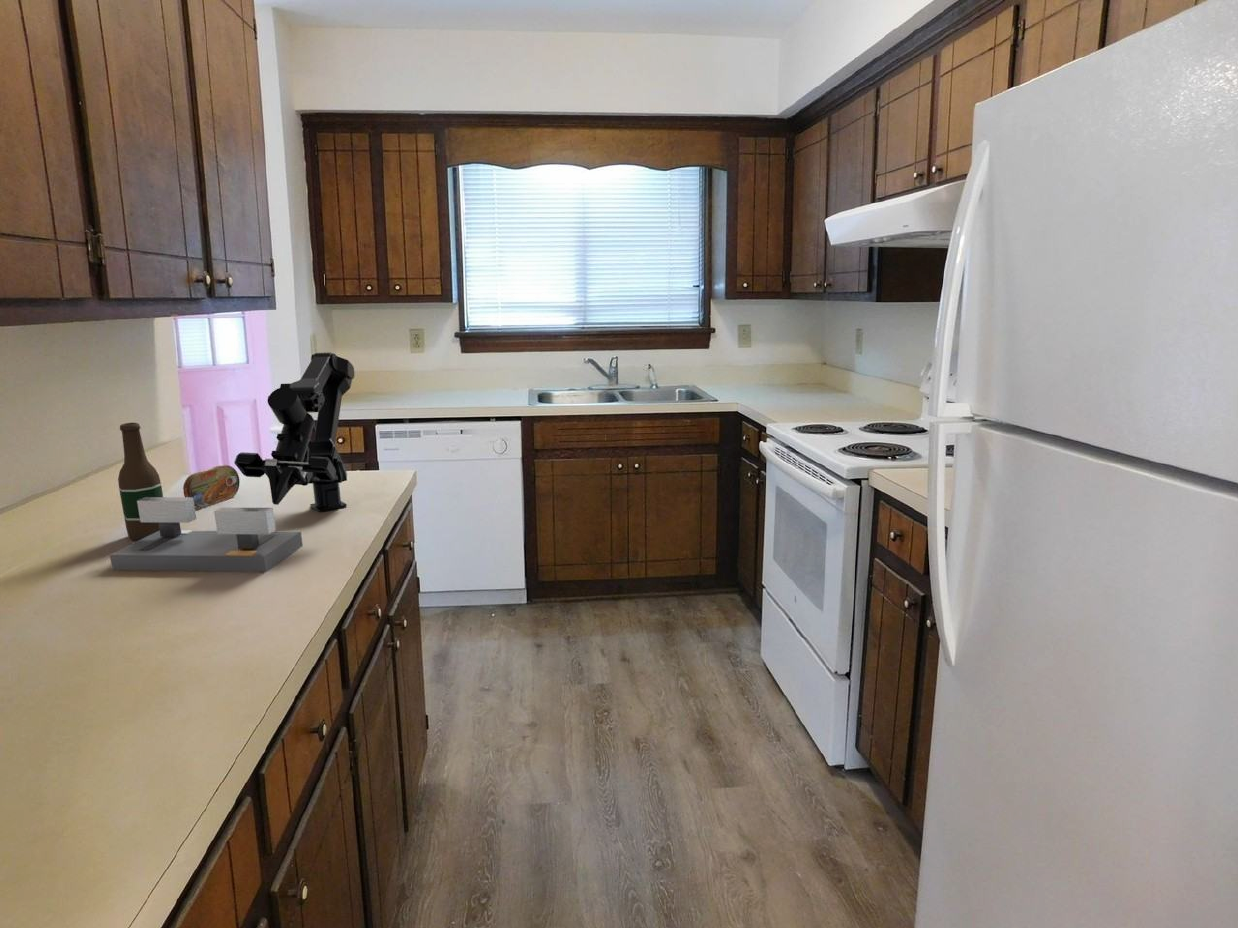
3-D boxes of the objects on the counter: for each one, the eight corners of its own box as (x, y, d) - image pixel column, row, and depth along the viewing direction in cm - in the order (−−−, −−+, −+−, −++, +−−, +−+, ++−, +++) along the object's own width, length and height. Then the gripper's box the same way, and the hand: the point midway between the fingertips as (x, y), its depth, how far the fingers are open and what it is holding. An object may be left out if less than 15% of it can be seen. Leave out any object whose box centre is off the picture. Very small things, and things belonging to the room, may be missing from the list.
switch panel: (161, 544, 161) (158, 529, 160) (302, 545, 158) (300, 530, 157) (112, 569, 147) (109, 553, 147) (266, 571, 145) (263, 555, 144)
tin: (194, 511, 184) (188, 476, 182) (183, 511, 185) (178, 476, 183) (242, 494, 198) (238, 461, 196) (232, 493, 199) (227, 461, 197)
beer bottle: (119, 538, 166) (98, 425, 160) (155, 527, 172) (136, 419, 167) (141, 543, 162) (121, 428, 156) (177, 532, 169) (159, 421, 163)
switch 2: (227, 545, 150) (221, 507, 148) (277, 545, 149) (272, 507, 147) (219, 549, 147) (214, 511, 146) (271, 549, 146) (265, 511, 145)
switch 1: (151, 532, 158) (145, 497, 156) (198, 533, 157) (193, 497, 155) (143, 536, 156) (136, 500, 154) (191, 537, 155) (185, 500, 153)
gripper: (349, 459, 172) (333, 524, 164) (264, 454, 172) (243, 519, 164) (335, 432, 163) (317, 499, 155) (244, 426, 163) (222, 493, 155)
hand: (275, 503), depth 157 cm, fingers closed
